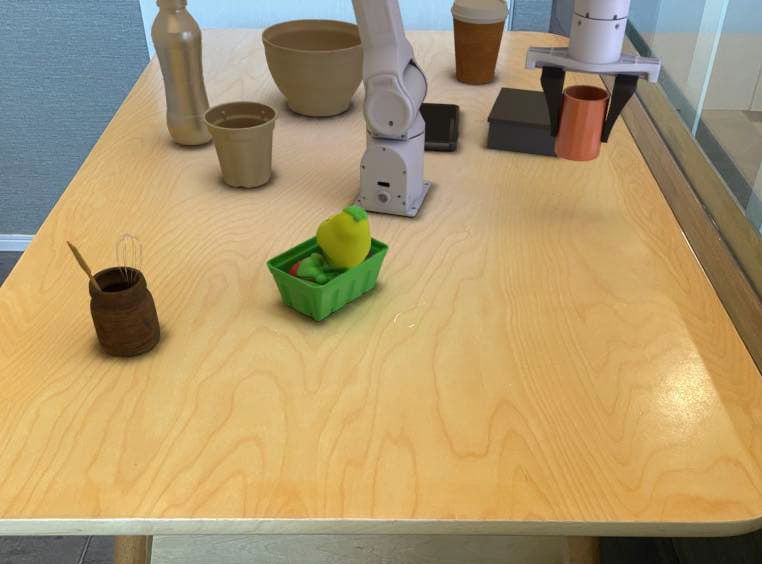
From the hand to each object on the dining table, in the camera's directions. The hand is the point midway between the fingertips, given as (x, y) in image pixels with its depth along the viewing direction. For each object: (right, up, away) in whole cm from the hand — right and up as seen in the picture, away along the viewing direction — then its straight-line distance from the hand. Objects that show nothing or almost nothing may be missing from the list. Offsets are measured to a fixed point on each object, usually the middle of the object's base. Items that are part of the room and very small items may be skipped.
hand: (579, 136), depth 96 cm
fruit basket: (-28, -20, -9) cm, 36 cm away
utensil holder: (-48, -25, -15) cm, 56 cm away
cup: (0, -1, +1) cm, 2 cm away
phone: (-16, +9, +26) cm, 32 cm away
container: (-2, +8, +25) cm, 26 cm away
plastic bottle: (-51, +6, +21) cm, 55 cm away
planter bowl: (-34, +15, +32) cm, 49 cm away
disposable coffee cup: (-8, +24, +43) cm, 50 cm away
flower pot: (-41, -2, +13) cm, 43 cm away
